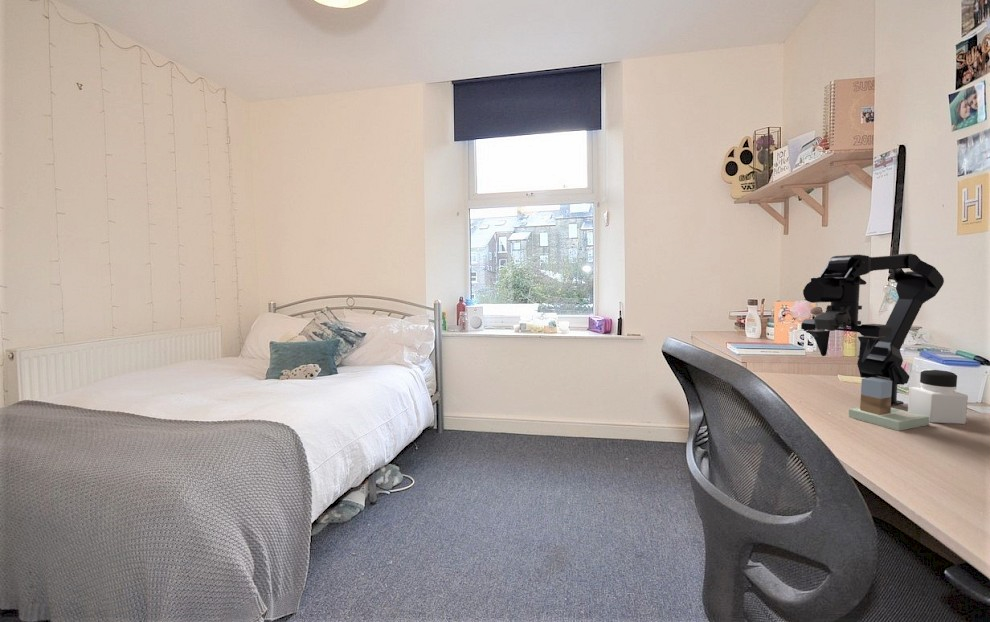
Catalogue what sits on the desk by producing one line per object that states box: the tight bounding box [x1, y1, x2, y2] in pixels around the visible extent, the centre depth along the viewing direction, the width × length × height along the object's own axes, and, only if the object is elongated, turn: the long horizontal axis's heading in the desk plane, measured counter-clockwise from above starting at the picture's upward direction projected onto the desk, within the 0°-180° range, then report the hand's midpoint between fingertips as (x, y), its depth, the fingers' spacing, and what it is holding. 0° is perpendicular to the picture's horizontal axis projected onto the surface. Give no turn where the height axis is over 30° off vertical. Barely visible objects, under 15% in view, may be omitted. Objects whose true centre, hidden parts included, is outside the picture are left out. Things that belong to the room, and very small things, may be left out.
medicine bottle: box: [907, 369, 969, 425], centre depth 99 cm, size 7×7×12 cm
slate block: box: [860, 377, 892, 399], centre depth 99 cm, size 4×4×4 cm
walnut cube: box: [859, 394, 892, 415], centre depth 99 cm, size 4×4×4 cm
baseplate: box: [848, 407, 930, 432], centre depth 98 cm, size 11×10×2 cm
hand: (841, 358), depth 109 cm, fingers open, 9 cm apart
